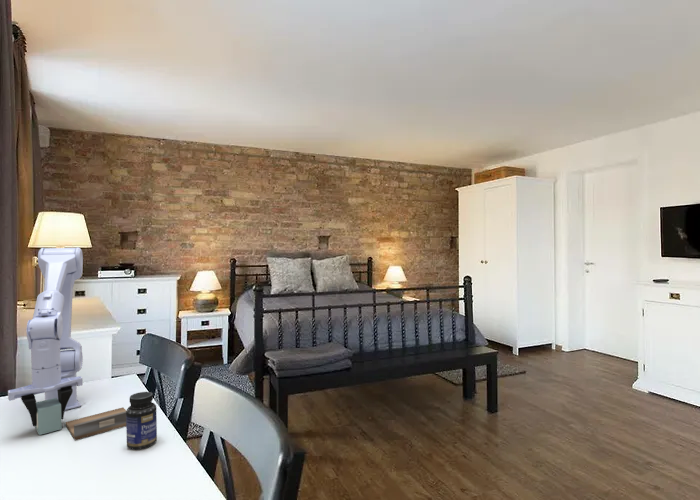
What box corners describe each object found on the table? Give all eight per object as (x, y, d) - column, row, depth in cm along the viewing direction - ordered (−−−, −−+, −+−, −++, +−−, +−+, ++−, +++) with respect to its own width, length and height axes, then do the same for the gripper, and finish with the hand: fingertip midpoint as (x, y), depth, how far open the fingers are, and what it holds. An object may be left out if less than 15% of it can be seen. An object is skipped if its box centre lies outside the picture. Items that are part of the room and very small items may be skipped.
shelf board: (65, 425, 104) (65, 412, 104) (123, 410, 113) (122, 398, 113) (75, 440, 96) (74, 426, 96) (136, 423, 105) (136, 410, 105)
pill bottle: (144, 452, 91) (143, 401, 91) (120, 449, 92) (119, 399, 92) (162, 438, 97) (162, 391, 97) (139, 436, 98) (138, 389, 98)
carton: (57, 421, 106) (56, 397, 106) (61, 429, 102) (61, 404, 102) (34, 427, 103) (33, 402, 103) (38, 435, 99) (37, 409, 99)
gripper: (9, 376, 94) (11, 436, 94) (84, 363, 104) (86, 417, 104) (6, 369, 99) (8, 426, 100) (78, 357, 109) (79, 409, 110)
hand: (47, 421), depth 102 cm, fingers closed on carton, 5 cm apart
